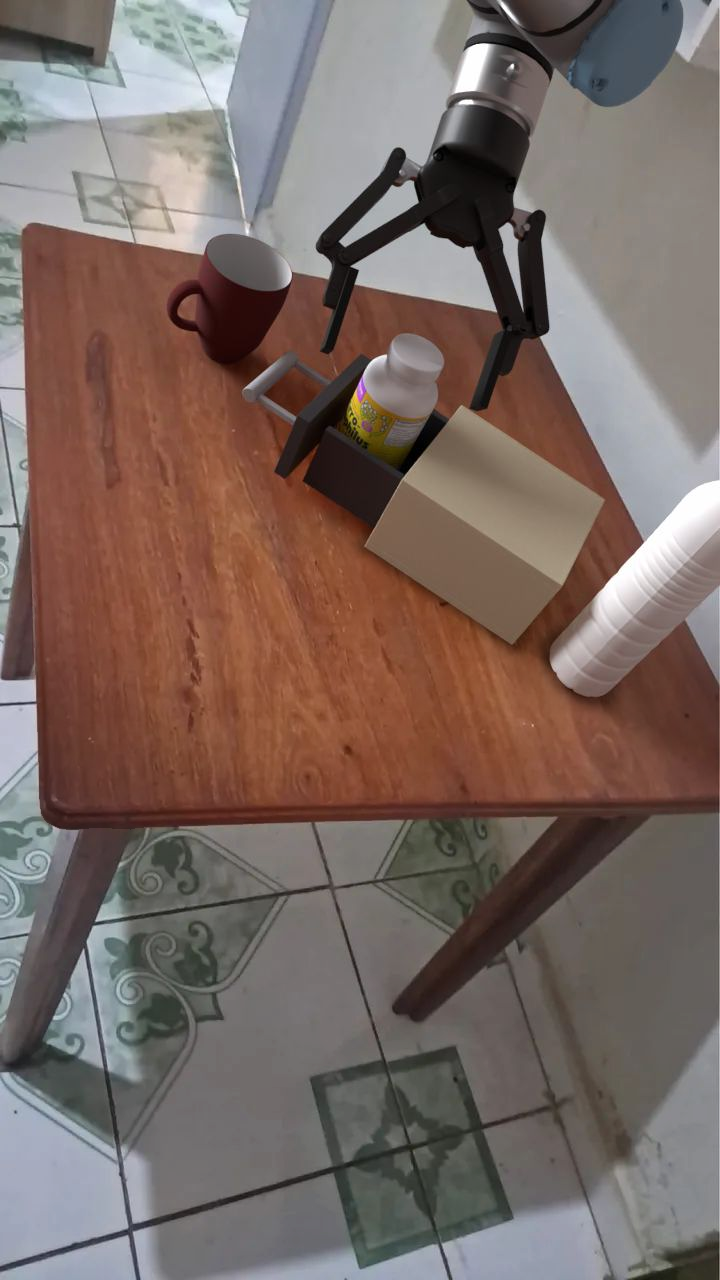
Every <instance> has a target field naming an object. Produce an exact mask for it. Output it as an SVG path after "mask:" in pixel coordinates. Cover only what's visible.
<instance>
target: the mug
mask: <svg viewBox="0 0 720 1280" xmlns="http://www.w3.org/2000/svg"><path fill="white" fill-rule="evenodd" d="M199 265H200V266H199V270H198V275H197V279H187V280H184V281H181V282H180V283H178V284H177V285H176V286H175V287H174V288H173V289H172V290H171V291H170V292H169V295H168V296H167V301H166V314H167V317H168V319H169V320H170V322H171V323H172V324H173V325H174V326H175V327H177V328H179V329H180V330H183V331H187V332H192V333H194V332H195V333H197V336H198V339H199V342H200V346H201V348H202V350H203V352H204V354H205V355H206V356H207V357H208V358H210V359H211V360H212V361H214V362H217V363H219V364H224V365H234V364H238V363H240V362H241V361H243V360H244V359H245V358H247V357H248V356H249V355H250V354H252V353H253V352H254V351H255V350H256V349H257V348H259V346H260V345H261V344H262V342H263V341H264V339H265V337H266V336H267V334H268V333H269V330H270V329H271V328H272V326H273V324H274V323H275V321H276V320H277V317H278V316H279V314H280V312H281V311H282V309H283V306H284V305H285V303H286V300H287V296H288V294H289V291H290V288H291V285H292V281H293V277H294V275H293V269H292V268H291V267H292V266H291V265H290V264H289V262H288V260H287V259H286V257H284V256H283V255H282V254H281V253H280V251H278V250H277V249H275V248H274V247H272V246H271V245H269V244H267V243H266V242H264V241H262V240H260V239H257V238H254V237H251V236H248V235H244V234H238V233H223V234H219V235H216V236H214V237H212V238H211V239H210V240H208V242H207V243H206V246H205V248H204V252H203V255H202V258H201V261H200V264H199ZM193 295H196V302H195V303H196V304H195V313H194V314H195V316H194V320H190V319H187V318H183V317H181V316H180V315H179V313H178V312H179V311H178V310H179V308H180V305H181V303H182V302H183V301H184V300H185V299H186V298H188V297H190V296H193Z"/></svg>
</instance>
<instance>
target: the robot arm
mask: <svg viewBox="0 0 720 1280" xmlns="http://www.w3.org/2000/svg"><path fill="white" fill-rule="evenodd" d="M466 2H467V3H468V5H469V7H470V8H471V10H472V12H473V13H472V20H471V25H470V27H469V31H468V34H467V37H466V40H465V44H464V46H463V49H462V52H461V56H460V59H459V61H458V65H457V68H456V70H455V73H454V76H453V79H452V83H451V85H450V88H449V91H448V95H447V97H446V100H445V109H446V110H444V111H443V113H442V114H441V116H440V120H439V123H438V126H437V129H436V132H435V135H434V138H433V142H432V144H431V147H430V151H429V153H428V155H427V156H428V157H427V159H426V161H425V163H424V164H423V165H420V164H418V163H417V162H415V161H413V160H411V159H410V158H408V157H407V153H406V150H405V149H404V148H402V147H399V146H397V147H395V148H393V149H392V150H391V152H390V154H389V156H388V157H387V159H386V160H385V162H384V164H383V166H382V168H381V170H380V173H379V174H378V176H377V177H376V178H375V179H374V180H373V181H372V182H371V183H370V184H369V185H367V187H366V188H365V189H364V190H363V191H362V192H361V193H360V194H359V195H357V197H356V198H355V199H354V200H353V201H352V202H351V203H350V204H349V205H348V206H347V207H346V208H345V209H344V210H343V211H342V212H341V213H340V214H339V215H338V216H337V217H336V218H335V219H334V220H333V222H332V223H330V224H329V225H328V226H327V228H326V229H324V230H323V231H322V232H321V234H320V236H319V237H318V239H317V241H316V243H315V250H316V252H317V253H318V254H320V255H323V256H324V258H326V259H327V260H328V261H329V263H330V265H331V271H330V273H329V277H328V279H327V283H326V286H325V289H324V292H323V295H322V307H324V308H328V309H330V310H332V312H331V314H330V318H329V320H328V321H329V322H328V324H327V327H326V330H325V334H324V337H323V339H322V343H321V346H320V349H319V352H320V353H322V354H325V355H330V354H331V353H333V351H334V349H335V347H336V344H337V341H338V338H339V334H340V332H341V331H340V330H341V329H342V325H343V322H344V318H345V316H346V313H347V310H348V307H349V303H350V300H351V297H352V294H353V291H354V288H355V286H356V285H355V284H356V281H357V279H358V275H359V272H360V270H359V269H358V268H355V267H353V266H354V265H355V264H357V263H358V262H360V261H362V260H364V259H365V258H367V257H369V256H371V255H372V254H374V253H377V251H379V250H381V249H382V248H384V247H385V246H387V245H389V244H390V243H392V242H394V241H396V240H397V239H399V238H400V237H403V236H404V235H406V234H408V233H410V232H412V231H414V230H416V229H417V228H419V227H420V226H422V225H425V227H426V229H427V230H428V231H429V232H430V233H429V235H431V236H433V237H435V238H437V239H445V240H449V241H450V242H451V243H452V244H453V245H455V246H457V247H460V248H462V249H466V248H471V247H472V249H473V252H474V255H475V257H476V260H477V261H478V262H479V263H480V265H481V268H482V272H483V274H484V277H485V280H486V284H487V286H488V289H489V292H490V295H491V298H492V302H493V304H494V307H495V310H496V313H497V316H498V319H499V322H500V325H501V328H502V329H501V330H499V331H498V332H496V333H493V337H492V340H491V342H490V346H489V349H488V351H487V355H486V358H485V360H484V363H483V366H482V369H481V372H480V375H479V378H478V381H477V384H476V388H475V390H474V393H473V396H472V399H471V402H470V405H469V410H471V411H475V412H480V411H484V410H488V408H489V405H490V402H491V399H492V396H493V393H494V389H495V388H496V384H497V381H498V378H499V376H500V377H505V376H507V375H509V374H510V373H511V372H512V371H513V369H514V365H515V363H516V360H517V356H518V354H519V351H520V347H521V345H522V342H523V340H524V339H526V340H527V339H529V340H536V339H538V338H540V337H542V336H545V335H547V334H548V333H549V331H550V326H551V325H550V318H549V317H550V314H549V305H548V296H547V285H546V284H547V283H546V275H545V265H544V263H545V262H544V254H543V243H542V239H543V235H544V230H545V225H546V221H547V214H546V212H545V211H544V210H542V209H536V210H534V211H532V212H531V211H528V210H524V209H521V208H518V207H515V202H514V195H515V191H516V189H517V186H518V183H519V179H520V177H521V173H522V171H523V168H524V164H525V161H526V158H527V155H528V152H529V149H530V145H531V144H530V143H531V142H530V139H531V138H532V137H533V136H534V133H535V131H536V128H537V125H538V122H539V118H540V116H541V112H542V109H543V106H544V102H545V100H546V96H547V93H548V90H549V87H550V85H551V82H552V79H553V75H554V72H555V70H556V71H557V72H558V73H559V74H560V75H561V76H562V77H563V78H564V79H565V80H566V81H567V83H568V84H569V85H570V86H571V87H572V88H573V89H574V90H575V89H577V91H579V92H580V93H581V94H582V95H584V96H585V97H586V98H587V99H588V100H590V101H591V102H592V103H593V104H595V105H596V106H598V107H603V108H614V107H619V106H622V105H625V104H627V103H629V102H631V101H632V100H634V99H636V98H637V97H638V96H640V95H641V94H643V93H644V92H645V91H646V90H647V89H649V87H650V86H651V85H652V83H653V81H655V79H657V77H658V76H659V75H660V74H661V73H662V72H663V71H664V69H666V67H667V65H668V64H669V63H670V60H671V59H672V57H673V55H674V53H675V52H676V49H677V47H678V44H679V43H680V40H681V36H682V32H683V27H684V7H683V4H682V1H681V0H466ZM408 181H411V182H413V187H414V190H415V195H416V198H417V201H418V202H417V203H415V204H414V205H412V206H411V207H409V208H408V209H407V210H405V211H404V212H402V213H400V214H399V215H397V216H395V217H393V218H392V219H390V220H388V221H387V222H385V223H383V224H382V225H380V226H379V227H376V228H375V229H373V230H372V231H370V232H368V233H366V234H365V235H363V236H362V237H360V238H357V240H355V241H353V242H351V243H349V244H348V245H346V246H345V245H344V244H342V243H341V242H340V241H341V240H342V239H343V238H344V237H345V236H346V235H347V234H348V233H349V232H350V231H351V230H352V229H353V228H354V227H355V226H356V225H357V224H358V223H360V221H361V220H362V219H363V218H364V217H365V216H366V215H367V214H368V213H369V212H370V211H371V210H372V209H373V208H374V207H375V206H376V205H377V204H378V203H379V201H381V200H382V199H383V198H384V197H385V195H386V194H387V193H388V191H389V190H390V189H391V187H392V186H393V187H395V188H400V187H402V186H403V185H404V184H405V183H406V182H408ZM507 223H508V224H510V225H511V227H512V229H513V230H512V232H513V237H514V238H515V239H516V240H517V260H518V271H519V282H520V291H521V300H522V301H520V298H519V295H518V291H517V288H516V286H515V283H514V281H513V280H514V279H513V275H512V273H511V270H510V268H509V267H510V266H509V264H508V262H507V258H506V254H505V252H504V241H503V238H502V235H501V231H500V229H501V228H503V227H504V226H505V225H506V224H507ZM521 302H522V304H521Z"/></svg>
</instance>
